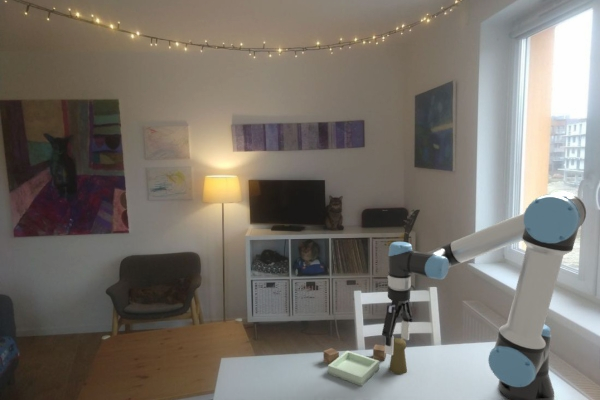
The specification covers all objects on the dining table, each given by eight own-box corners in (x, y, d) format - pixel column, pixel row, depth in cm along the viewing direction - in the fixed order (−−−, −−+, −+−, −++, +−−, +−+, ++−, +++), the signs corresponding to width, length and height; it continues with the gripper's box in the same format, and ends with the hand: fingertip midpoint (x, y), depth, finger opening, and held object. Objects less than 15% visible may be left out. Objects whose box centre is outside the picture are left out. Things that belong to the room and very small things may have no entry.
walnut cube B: (338, 362, 147) (338, 352, 146) (330, 365, 145) (330, 355, 144) (332, 358, 150) (332, 348, 150) (323, 361, 148) (323, 350, 148)
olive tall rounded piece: (407, 375, 138) (408, 344, 137) (389, 373, 139) (389, 342, 138) (406, 366, 144) (406, 336, 143) (389, 364, 145) (389, 335, 144)
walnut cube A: (386, 356, 151) (386, 346, 151) (384, 361, 147) (384, 350, 147) (375, 354, 153) (375, 344, 152) (373, 359, 149) (373, 349, 148)
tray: (379, 369, 142) (379, 360, 142) (361, 386, 132) (361, 377, 131) (347, 358, 150) (347, 350, 149) (328, 373, 139) (328, 365, 139)
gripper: (403, 276, 150) (401, 330, 153) (372, 295, 131) (371, 357, 133) (422, 280, 146) (420, 335, 148) (394, 300, 126) (392, 364, 129)
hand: (397, 346), depth 141 cm, fingers open, 13 cm apart
